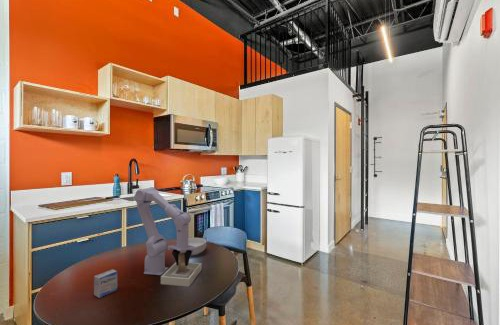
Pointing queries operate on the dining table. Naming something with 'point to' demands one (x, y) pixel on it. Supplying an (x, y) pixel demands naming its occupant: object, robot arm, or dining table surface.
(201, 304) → the dining table surface
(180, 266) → the birch peg
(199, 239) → the cereal bowl
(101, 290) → the medicine box
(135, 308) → the dining table surface
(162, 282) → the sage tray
